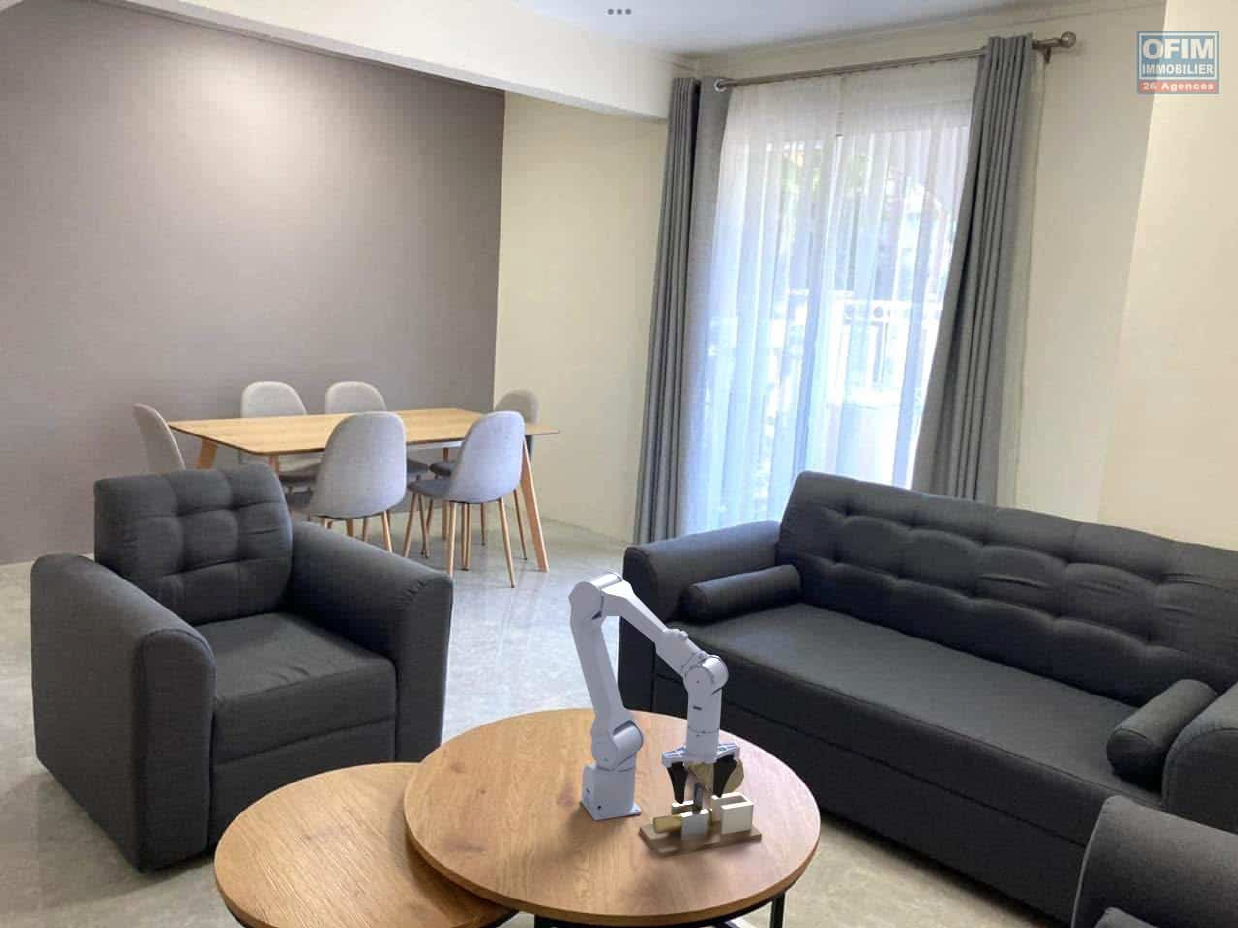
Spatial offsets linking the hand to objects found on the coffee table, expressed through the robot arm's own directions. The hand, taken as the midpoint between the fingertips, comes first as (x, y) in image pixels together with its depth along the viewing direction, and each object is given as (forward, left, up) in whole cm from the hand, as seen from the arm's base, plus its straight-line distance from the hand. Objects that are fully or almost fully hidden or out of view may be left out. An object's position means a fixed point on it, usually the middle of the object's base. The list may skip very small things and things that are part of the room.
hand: (698, 798), depth 177 cm
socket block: (+7, 0, -7) cm, 10 cm away
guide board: (+1, 0, -7) cm, 7 cm away
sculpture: (+12, +18, -8) cm, 23 cm away
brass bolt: (-3, 0, -5) cm, 6 cm away
